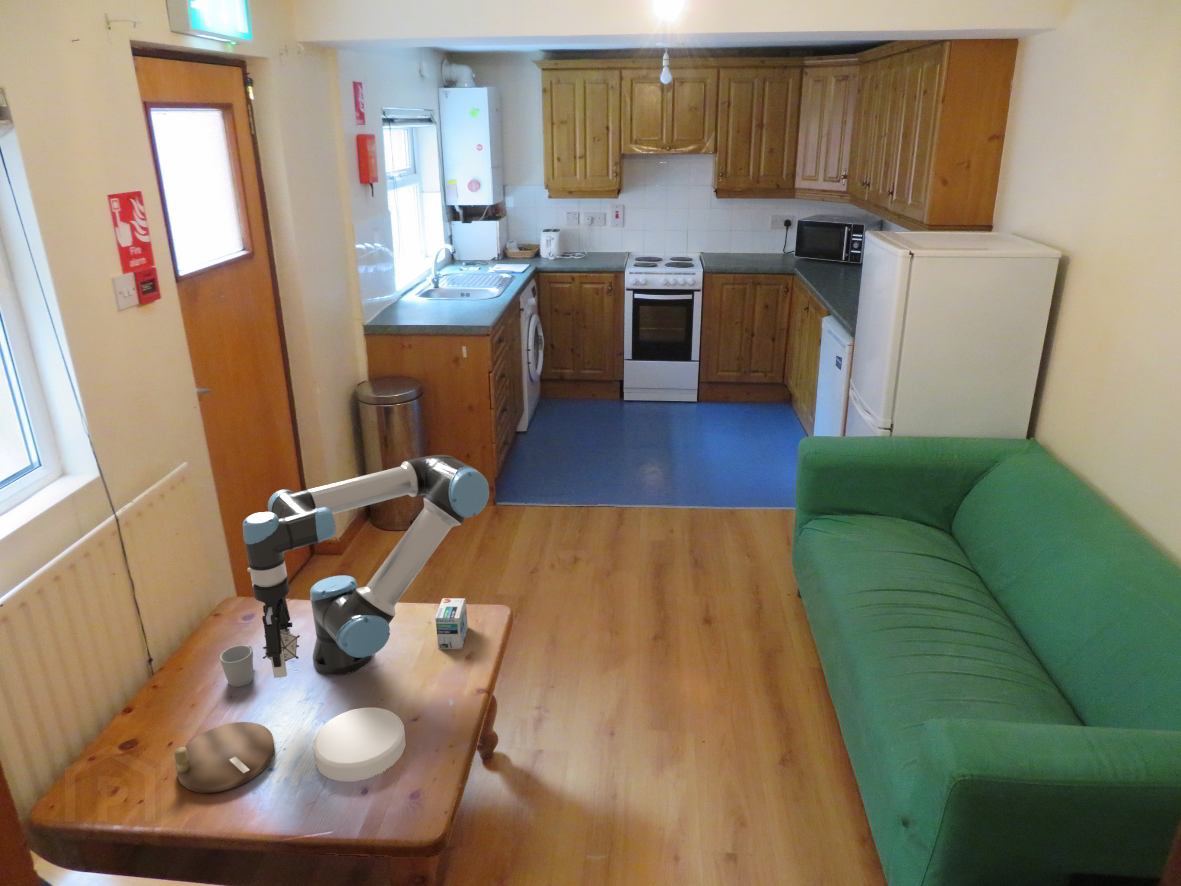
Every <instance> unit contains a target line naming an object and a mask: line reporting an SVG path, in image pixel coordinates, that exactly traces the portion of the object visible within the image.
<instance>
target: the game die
mask: <svg viewBox="0 0 1181 886" xmlns="http://www.w3.org/2000/svg"><path fill="white" fill-rule="evenodd" d="M288 629H289V628H288ZM288 629H287V628H286V630H285V631H281V632H280V633H281V650H283V653H284V659H285V665H287V664H286V662H288V661H290V660H291V659H294V658H295V659H299V656H297V648H299V647H300V645H299V644H298V638H300V637H301V635H299V634H298V635H296V636H295V635H294V634H293V633H291V632H290V633H289V632H287V631H288ZM264 637H265V634H264ZM262 649H263V650H265V654H266V653H267V647H266V646H263V647H262ZM262 659H269V661H271V657H267V656H266V655H264V656H263V657H262ZM299 660H300V659H299Z"/></svg>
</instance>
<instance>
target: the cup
mask: <svg viewBox="0 0 1181 886" xmlns="http://www.w3.org/2000/svg"><path fill="white" fill-rule="evenodd" d="M219 661H220V664H221V666H222V669H223V672H224V675H225V677H226V680H227V682H228V685H229V686H231V687H234V688H239V687H244V686H246V685H248V684H250V683H251V682H252V681H253V679H254V651H253V648H252V646H251V645H244V644H241V645H234V646H231V647H228V648H227V649H225V650H223V652H221V654H220V656H219Z"/></svg>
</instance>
